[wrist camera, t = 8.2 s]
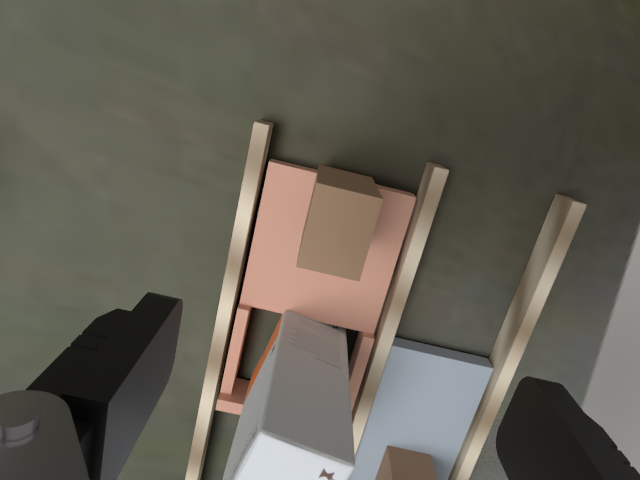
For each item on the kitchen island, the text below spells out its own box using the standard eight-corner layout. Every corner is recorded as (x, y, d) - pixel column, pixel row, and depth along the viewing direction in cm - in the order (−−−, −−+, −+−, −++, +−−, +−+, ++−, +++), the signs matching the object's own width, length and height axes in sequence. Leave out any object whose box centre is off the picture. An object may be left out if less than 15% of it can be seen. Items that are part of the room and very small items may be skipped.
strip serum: (273, 149, 26) (255, 167, 20) (415, 184, 26) (443, 213, 20) (224, 385, 31) (196, 461, 24) (345, 411, 31) (349, 493, 25)
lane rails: (259, 119, 26) (254, 121, 24) (568, 196, 27) (587, 204, 25) (185, 497, 34) (177, 521, 32) (423, 545, 35) (428, 571, 33)
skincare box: (286, 298, 29) (260, 427, 17) (347, 325, 29) (361, 467, 18) (248, 374, 30) (203, 538, 19) (307, 398, 31) (296, 572, 19)
